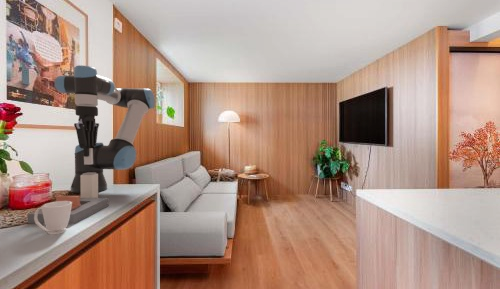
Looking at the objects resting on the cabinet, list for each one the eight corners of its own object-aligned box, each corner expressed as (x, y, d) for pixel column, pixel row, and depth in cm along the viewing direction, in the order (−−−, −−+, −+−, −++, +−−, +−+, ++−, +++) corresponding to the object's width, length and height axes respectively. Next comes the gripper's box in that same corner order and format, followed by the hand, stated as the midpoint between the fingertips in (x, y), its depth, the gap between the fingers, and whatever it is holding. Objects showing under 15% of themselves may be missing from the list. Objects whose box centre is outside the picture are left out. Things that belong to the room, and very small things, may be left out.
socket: (71, 205, 96) (71, 197, 96) (108, 205, 97) (108, 197, 97) (27, 223, 76) (27, 213, 76) (73, 223, 77) (73, 214, 77)
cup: (59, 237, 67) (59, 207, 67) (23, 235, 67) (23, 206, 67) (78, 227, 74) (78, 200, 74) (45, 226, 74) (45, 200, 74)
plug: (87, 198, 105) (87, 172, 105) (98, 199, 106) (98, 172, 105) (80, 201, 101) (80, 173, 100) (91, 201, 101) (91, 173, 101)
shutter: (59, 205, 85) (59, 195, 85) (80, 205, 85) (80, 195, 85) (42, 212, 78) (42, 200, 78) (65, 212, 78) (65, 201, 78)
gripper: (86, 106, 105) (88, 161, 107) (65, 104, 92) (68, 166, 94) (105, 107, 105) (106, 161, 107) (86, 105, 92) (88, 167, 94)
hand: (88, 164), depth 100 cm, fingers closed
